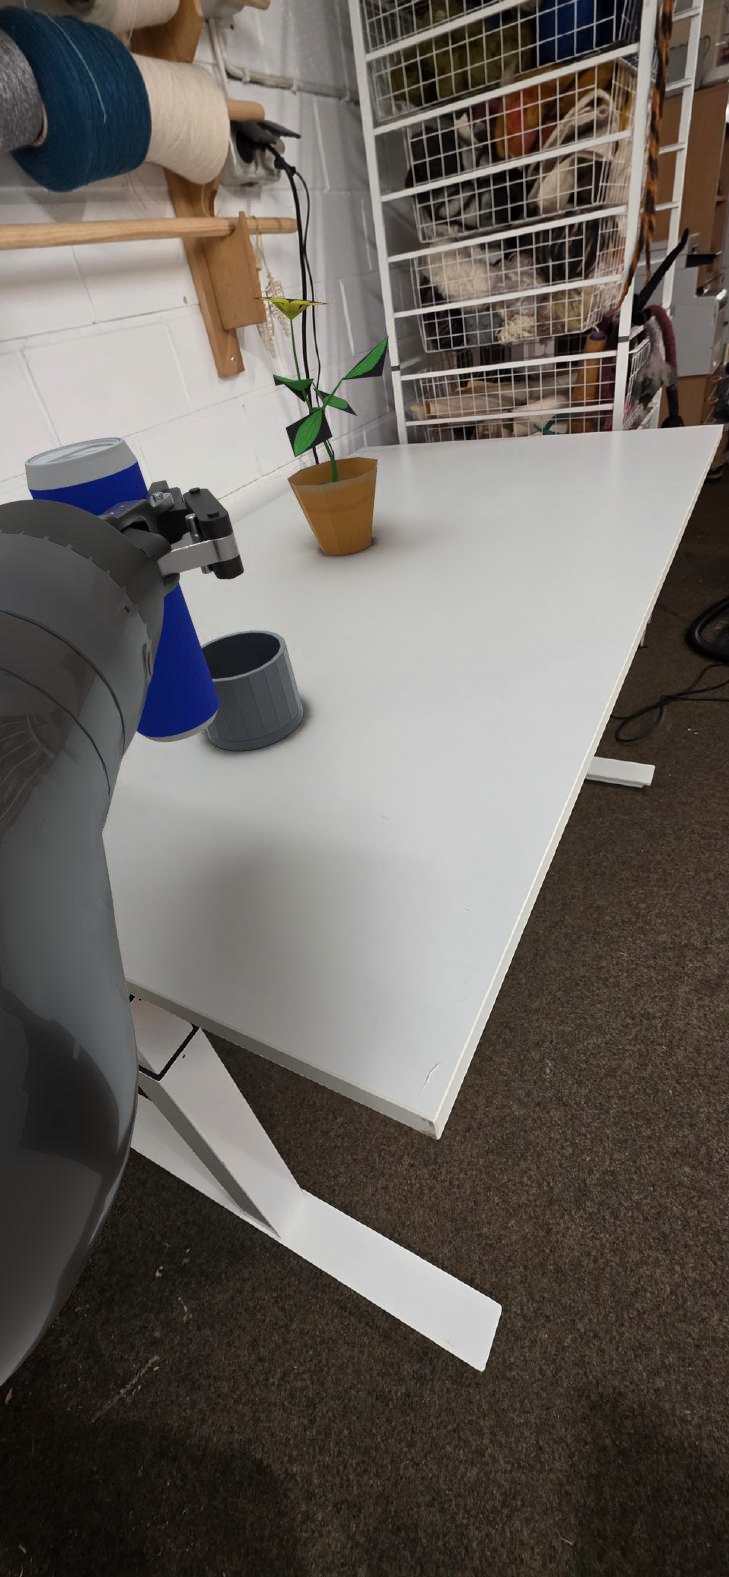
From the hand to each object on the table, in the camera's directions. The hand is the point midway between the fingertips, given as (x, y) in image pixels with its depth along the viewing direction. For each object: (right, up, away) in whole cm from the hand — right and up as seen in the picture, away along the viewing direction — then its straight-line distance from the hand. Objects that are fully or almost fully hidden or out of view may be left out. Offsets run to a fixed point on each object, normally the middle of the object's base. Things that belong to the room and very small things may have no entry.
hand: (112, 513), depth 35 cm
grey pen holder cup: (+3, -8, +27) cm, 28 cm away
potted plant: (+11, +20, +61) cm, 65 cm away
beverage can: (+2, -11, +5) cm, 12 cm away
